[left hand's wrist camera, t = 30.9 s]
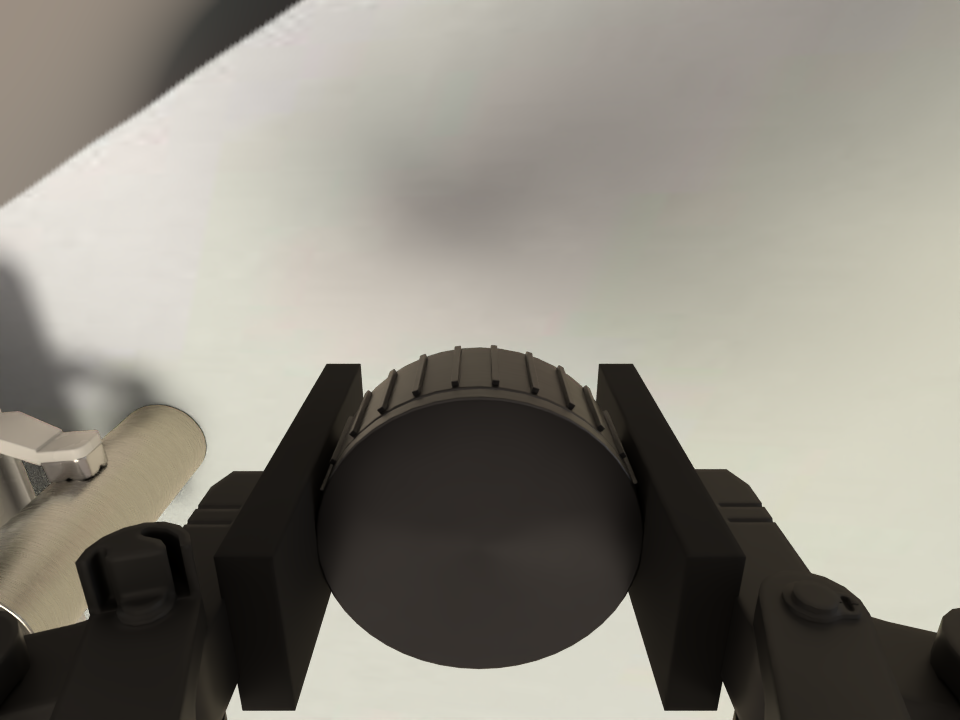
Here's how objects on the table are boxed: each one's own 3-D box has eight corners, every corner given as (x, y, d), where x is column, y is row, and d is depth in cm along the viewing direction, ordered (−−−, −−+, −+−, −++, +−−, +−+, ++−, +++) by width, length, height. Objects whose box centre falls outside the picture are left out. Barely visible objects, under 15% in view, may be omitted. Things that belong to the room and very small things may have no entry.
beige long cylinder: (161, 489, 35) (-67, 762, 21) (104, 429, 34) (-183, 675, 19) (223, 453, 35) (30, 710, 20) (167, 389, 33) (-85, 615, 18)
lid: (643, 557, 13) (672, 639, 11) (388, 610, 14) (372, 698, 12) (592, 310, 11) (617, 354, 9) (295, 383, 12) (257, 441, 10)
